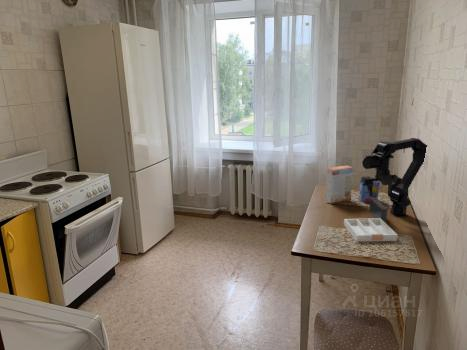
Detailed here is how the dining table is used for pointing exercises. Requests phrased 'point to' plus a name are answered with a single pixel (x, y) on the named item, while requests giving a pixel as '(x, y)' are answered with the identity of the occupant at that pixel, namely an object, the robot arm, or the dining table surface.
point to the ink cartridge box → (365, 194)
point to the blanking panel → (378, 210)
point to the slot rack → (370, 229)
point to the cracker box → (339, 184)
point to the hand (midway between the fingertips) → (379, 196)
